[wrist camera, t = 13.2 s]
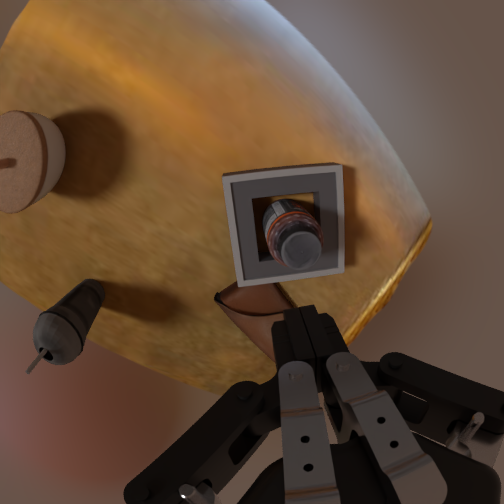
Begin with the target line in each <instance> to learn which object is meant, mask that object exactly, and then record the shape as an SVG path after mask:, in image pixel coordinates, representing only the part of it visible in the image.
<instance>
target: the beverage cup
mask: <svg viewBox="0 0 504 504" xmlns="http://www.w3.org/2000/svg"><path fill="white" fill-rule="evenodd" d="M104 298H105V292H104V289H103V287H102V286H101V285H100V284H99V283H98V282H97V281H95V280H93V279H85V280H84V281H82V282H81V283H80V284H78V285H77V286H76V287H75V288H73V289H72V290H71V291H70V292H69V293H68V294H66V295H65V296H64V297H63V298H62V299H61V300H60V301H59V302H57V303H56V304H55V305H54V306H52V307H51V308H49V309H48V310H46V311H44V312H43V313H41V314H40V315H39V318H38V320H37V322H36V324H35V326H34V329H33V341H34V345H35V348H36V350H37V352H38V353H39V355H38V356H37V358H36V359H35V360H34V361H33V362H32V364H31V365H30V366H29V367H28V369H27V370H26V373H27V374H30V372H31V371H32V370H33V368H34V367H35V366H36V365H37V363H38V362H39V361H40V360H41V358H43V359H44V360H46V361H47V362H49V363H51V364H55V365H65V364H67V363H70V362H72V361H73V360H74V359H75V358H76V357H77V356H78V355H80V353H81V352H82V351H83V346H84V343H85V340H86V336H87V334H88V332H89V329H90V327H91V325H92V323H93V321H94V319H95V317H96V315H97V313H98V311H99V309H100V307H101V305H102V302H103V300H104Z"/></svg>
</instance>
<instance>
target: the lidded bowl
mask: <svg viewBox="0 0 504 504" xmlns="http://www.w3.org/2000/svg"><path fill="white" fill-rule="evenodd" d="M65 159H66V148H65V142H64V138H63V135H62V133H61V131H60V129H59V128H58V127H57V125H56V124H55V123H54V122H53V121H52V120H50V119H49V118H47V117H45V116H43V115H41V114H37V113H33V112H24V111H9V112H7V113H4V114H3V115H1V116H0V210H1V211H3V212H6V213H17V212H20V211H22V210H24V209H26V208H27V207H29V206H30V205H32V204H34V203H36V202H37V201H39V200H40V199H42V198H43V197H45V196H46V195H47V194H48V193H49V192H50V191H51V190H52V189H53V187H54V186H55V185H56V183H57V182H58V180H59V178H60V176H61V174H62V171H63V168H64V164H65Z"/></svg>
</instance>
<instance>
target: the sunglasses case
mask: <svg viewBox="0 0 504 504" xmlns="http://www.w3.org/2000/svg"><path fill="white" fill-rule="evenodd" d="M214 301H215V302H216V303H217V304H218V305H219V306H220V308H221V309H222V310H223V311H224V312H225V313H226V314H227V316H228V317H229V318H230V319H231V320H232V321H233V322H234V323H235V324H236V325H237V326H238V327H239V328H240V329H241V331H242V332H244V333H245V334H246V335H247V336H248V337H249V338H250V339H251V341H253V342H254V343H255V344H256V345H257V346H258V347H259V348H260V349H261V350H262V351H263V352H264V353H265V354H266V355H267V356H268V357H269V358H270V359H271V360H272V361H274V362H275V357H274V351H273V343H272V335H271V327H272V325H273V323H274V322H275V321H281V320H284V318H283V310H284V309H291V308H293V306H292V305H291V304H290V303H289V302H288V300H287V299H286V298H285V296H284V295H283V294H282V293H281V291H280V290H279V289H278V287H277V286H276V284H275V283H267V284H260V285H252V286H244V287H238V282H237V281H236V282H234V283H233V284H231V285H230V286H228V287H227V288H225V289H224V290H223V291H221V292H220V293H218V292H217V293H216V295H215V297H214Z"/></svg>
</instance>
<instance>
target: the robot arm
mask: <svg viewBox="0 0 504 504" xmlns="http://www.w3.org/2000/svg"><path fill="white" fill-rule="evenodd" d="M283 318H284V320H281V321H275V322H274V323H273V325H272V327H271V335H272V343H273V351H274V357H275V363H276V368H277V373H276V375H275V376H274V377H273V378H272V379H271V380H269V381H267V382H265V383H263V384H260V385H259V384H257V383H255V382H252V381H242V382H238V383H236V384H234V385H233V386H231V387H230V388H229V389H228V390H227V392H226V393H225V394H224V395H223V396H222V397H221V398H220V399H219V400H218V401H217V402H216V403H215V404H214V405H213V406H212V407H211V408H210V409H209V410H208V411H207V412H206V413H205V414H204V415H203V416H202V417H201V418H200V419H199V420H198V421H197V422H196V423H195V424H194V425H192V426H191V427H190V428H189V429H188V430H187V431H186V432H185V433H184V434H183V435H182V436H181V437H180V438H179V439H178V440H177V441H176V442H175V443H173V444H172V445H171V446H170V447H169V448H168V449H167V450H166V451H165V452H164V453H162V454H161V455H160V456H159V457H158V458H157V459H156V460H155V461H154V462H152V463H151V464H150V465H149V466H148V467H147V468H146V469H144V470H143V471H142V472H141V473H140V474H139V475H137V476H136V477H135V478H134V479H133V480H131V481H130V482H129V483H128V484H127V485H126V487H125V489H124V500H125V502H126V504H222V503H221V500H220V499H219V497H218V496H217V494H218V493H219V492H220V491H221V490H222V489H223V488H224V487H225V486H226V484H227V483H228V482H229V481H230V480H231V479H232V478H233V477H234V476H235V474H236V473H237V472H238V471H239V470H240V469H241V468H242V466H243V465H244V464H245V463H246V461H248V459H249V458H250V457H251V455H253V453H254V452H255V451H256V450H257V449H258V447H259V446H260V445H261V444H262V442H263V441H264V440H265V438H266V437H267V436H268V434H269V432H270V431H272V430H275V429H276V428H279V427H281V430H282V447H283V457H282V458H280V459H279V460H277V461H275V462H273V463H272V464H271V465H269V466H268V467H267V468H266V469H265V470H264V471H263V472H262V473H261V474H260V475H259V476H258V478H257V479H256V480H255V482H254V483H253V484H252V486H251V487H250V488H249V489H248V491H247V492H246V493H245V494H244V496H243V497H242V498H241V499H240V501H239V502H238V503H237V504H500V497H501V482H500V478H499V476H498V474H497V473H496V471H495V470H494V469H493V466H494V463H495V461H496V458H497V455H498V452H499V450H500V447H501V444H502V441H503V438H504V392H502V391H500V390H497V389H494V388H491V387H488V386H486V385H483V384H480V383H477V382H474V381H472V380H469V379H467V378H464V377H461V376H458V375H456V374H453V373H451V372H448V371H445V370H443V369H440V368H437V367H435V366H432V365H430V364H427V363H424V362H422V361H420V360H417V359H414V358H412V357H409V356H407V355H405V354H402V353H398V352H392V353H388V354H385V355H384V356H383V357H382V358H381V359H380V362H364V361H360V360H359V359H358V358H357V357H356V356H355V355H354V354H351V353H350V352H349V350H348V348H347V346H346V344H345V342H344V339H343V337H342V335H341V333H340V332H339V329H338V327H337V325H336V323H335V321H334V319H333V318H332V317H331V316H330V315H328V314H327V313H322V314H318V312H317V310H316V308H315V306H314V305H308V306H302V307H299V308H298V307H297V308H291V309H284V310H283ZM403 391H405V392H407V393H409V394H412V395H414V396H416V397H419V398H421V399H423V400H425V401H423V400H421V399H418V398H416V397H414V396H412V395H409V394H407V393H405V392H403ZM320 392H323V395H324V407H325V410H326V412H327V415H328V417H329V420H330V422H331V425H332V427H333V429H334V432H335V435H336V437H337V442H338V444H329V439H328V433H327V428H326V422H325V417H324V412H323V409H322V408H321V407H320V403H319V398H318V393H320ZM426 401H427V402H426ZM410 430H412V431H415V432H417V433H419V434H421V435H424V436H426V437H428V438H430V439H433V440H435V441H437V442H440V443H442V444H444V445H446V447H444V446H442V445H440V444H438V443H436V442H434V441H431V440H429V439H427V438H425V437H423V436H421V435H419V434H417V433H414V432H411V431H410Z"/></svg>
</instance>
